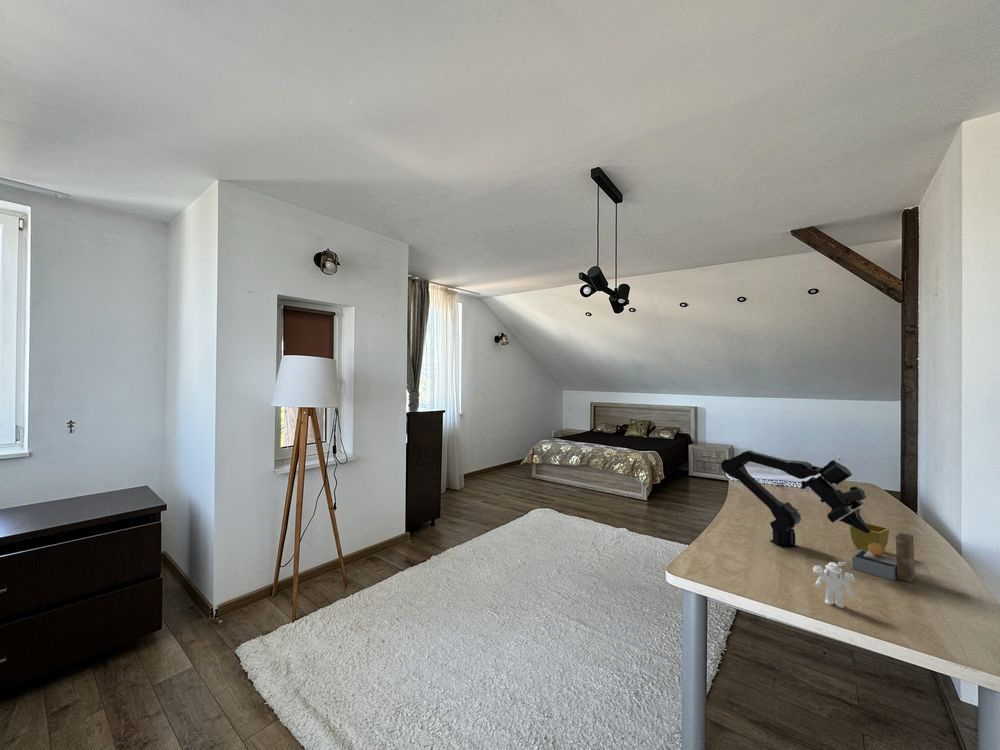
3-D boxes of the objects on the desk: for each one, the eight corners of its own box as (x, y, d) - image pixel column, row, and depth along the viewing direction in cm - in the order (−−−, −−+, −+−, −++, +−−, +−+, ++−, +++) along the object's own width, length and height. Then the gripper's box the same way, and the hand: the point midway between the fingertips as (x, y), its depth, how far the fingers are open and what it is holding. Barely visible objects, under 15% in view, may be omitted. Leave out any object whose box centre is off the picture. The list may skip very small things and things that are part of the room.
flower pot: (880, 558, 139) (879, 532, 139) (849, 549, 146) (848, 525, 147) (890, 553, 143) (889, 528, 143) (860, 545, 150) (859, 521, 151)
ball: (876, 558, 128) (876, 545, 128) (864, 552, 132) (864, 540, 132) (888, 557, 128) (887, 545, 128) (876, 552, 132) (875, 540, 132)
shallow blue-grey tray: (852, 568, 131) (852, 556, 131) (860, 561, 136) (860, 549, 137) (894, 580, 122) (894, 567, 123) (901, 572, 128) (901, 559, 128)
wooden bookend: (863, 569, 130) (862, 529, 130) (869, 564, 133) (867, 525, 134) (910, 582, 121) (909, 539, 121) (914, 576, 125) (913, 535, 125)
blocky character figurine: (855, 606, 108) (854, 562, 108) (856, 612, 105) (854, 567, 105) (813, 595, 114) (812, 553, 114) (812, 600, 111) (811, 557, 111)
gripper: (838, 482, 131) (885, 525, 121) (854, 475, 142) (898, 514, 132) (810, 501, 137) (852, 543, 127) (827, 493, 148) (868, 531, 138)
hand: (869, 532), depth 131 cm, fingers closed
